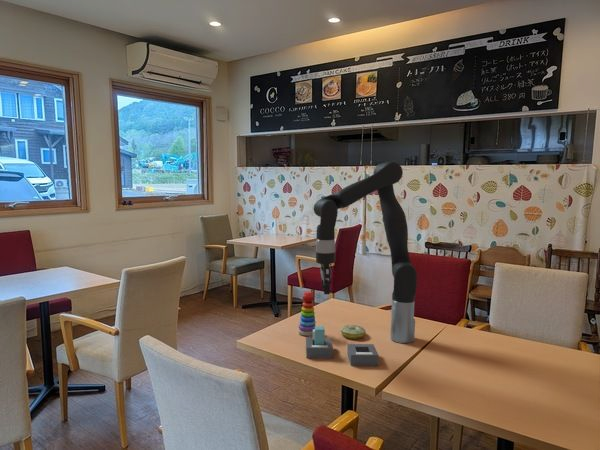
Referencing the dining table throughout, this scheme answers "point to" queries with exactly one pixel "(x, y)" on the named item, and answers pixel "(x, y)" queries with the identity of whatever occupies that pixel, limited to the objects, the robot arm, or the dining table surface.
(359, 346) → the near socket block
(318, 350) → the far socket block
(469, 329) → the dining table surface
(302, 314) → the stacking toy
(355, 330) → the decorated donut
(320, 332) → the plug
